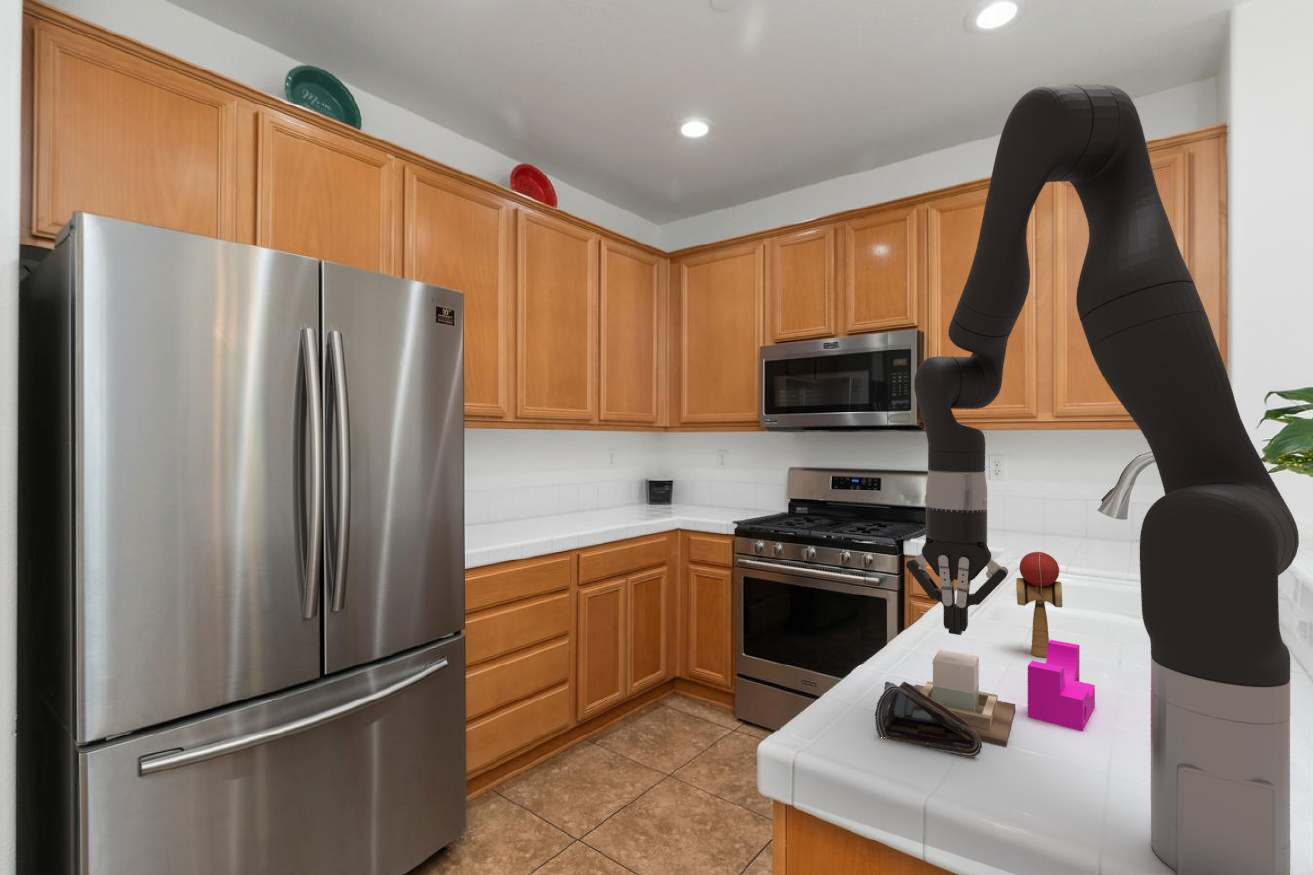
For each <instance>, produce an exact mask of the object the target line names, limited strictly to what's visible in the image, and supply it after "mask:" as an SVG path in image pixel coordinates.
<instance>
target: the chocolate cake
mask: <svg viewBox="0 0 1313 875" xmlns="http://www.w3.org/2000/svg"><path fill="white" fill-rule="evenodd" d="M883 687H884V691H883V692H882V694H881V695H880V698H879V699H878V702H877V703H876V704H877V705H876V709H875V713H874V720H875V721H874V722H875V730H876V733H877V735H878V737H879V739H880V738H881V737H882V739H885V738H884V737H888V738H887V739H891V738H892V739H891V740H896V741H899V742H904V743H907V744H911V745H914V746H915V745H916V746H920V747H923V748H926V749H930V750H935V751H937V752H942V753H946V754H950V755H954V756H957V757H964V758H974V757H978V756H979V755H980V754H981V750H982V749H983V742H982V741H981V739H980V737H979V735H978V734H977V733H976V732H975V731H974V730H972V729H971V728H970V727H969V725H968V724H967V722H965V721H964V720H963V719H962V718H960V717H959V716H957V715H956V714H955V713H953V712H951V711H950V710H949V709H947V708H946V707H945V705H944V704H943V703H942V702H940V701H938V702H935V701H934V700H933V699H931V698H930V697H928V696H926V695H924V694H923V693H922V692H921V691H920V690H919V688H918V687H917V686H915V685H913V684H911V683H908V682H906V681H902V682H901V684H900V685H899V686H898V685H896V684H895V683H893V682H891V681H885V682H884V686H883Z"/></svg>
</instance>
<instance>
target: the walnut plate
mask: <svg viewBox="0 0 1313 875" xmlns="http://www.w3.org/2000/svg"><path fill="white" fill-rule="evenodd" d="M914 686H917V687H918V688H919V690H920V691H921V692H922V693H923V694H924V695H926V696H928V697H930V698H931V699H933V681H926V684H924V685H920V684H915V685H914ZM998 697H999V696H998V694H996V693H990V692H985V691H980V690H979V708H978V711H977V713H975V712H970V711H965V710H960V709H956V708H951V707H946V706H945V707H946V708H947V709H949V710H950V711H951V712H953V713H955V714H956V715H957V716H959V717H960V718H962V719H963V720H964V721H965V722H967V724H968V725H969V727H970V728H971V729H972V730H974V731H975V732H976V733H977V734H978V735H979V737H980V739H981V741H982V743H983V742H984V743H987V744H992V745H996V746H1000V747H1004V748H1007V746H1008V743H1009V738H1010V735H1011V730H1012V726H1013V721H1014V719H1015V714H1016V703H1011V702H1007V701H1001V700H998V699H999V698H998Z"/></svg>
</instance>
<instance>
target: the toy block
mask: <svg viewBox="0 0 1313 875" xmlns="http://www.w3.org/2000/svg"><path fill="white" fill-rule="evenodd" d="M1045 660H1046V661H1045V662H1041V661H1035V660H1031V661H1030V662H1029V663H1028V665H1027V718H1029V719H1033V720H1037V721H1041V722H1044V723H1047V724H1053V725H1057V726H1059V727H1062V728H1063V727H1065V728H1068V729H1072V730H1076V731H1080V732H1084V730H1085V728H1086V725H1087V724H1088V722H1089V720H1090V717H1091V716H1092V715H1093V714H1092V713H1094V710H1095V708H1096V685H1095V684H1093V683H1088V682H1083V681H1080V644H1077V643H1070V642H1065V641H1060V640H1054V639H1049V642H1048V645H1047V657H1046V658H1045Z"/></svg>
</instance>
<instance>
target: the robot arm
mask: <svg viewBox="0 0 1313 875" xmlns="http://www.w3.org/2000/svg"><path fill="white" fill-rule="evenodd" d="M1148 149H1149V148H1148V147H1147V141H1146V137H1145V132H1144V129H1143V126H1142V122H1141V119H1140V115H1139V113H1138V109H1137V107H1136V105H1135V104H1134V102H1133V101H1132V98H1131V97H1130V96H1129V94H1127V93H1126V92H1125V91H1124V90H1123V89H1121V88H1119V87H1116V86H1113V85H1109V84H1103V83H1094V84H1093V83H1053V84H1052V83H1051V84H1050V83H1049V84H1044V85H1039V86H1037V87H1034V88H1032V89H1030V90H1029V91H1028V92H1026V93H1025V94H1024V95H1023V96H1021V97H1020V98H1019V99H1018V101H1017V102H1015V104H1014V106H1013V107H1012V109H1011V111H1010V113H1009V115H1008V117H1007V119H1006V121H1005V124H1004V126H1003V129H1002V132H1001V135H1000V138H999V141H998V146H997V150H996V154H995V158H994V163H993V168H992V172H991V176H990V182H989V187H988V190H987V194H986V200H985V203H984V204H985V205H984V210H983V216H982V220H981V224H980V225H981V226H980V230H979V234H978V240H977V244H976V250H975V253H974V258H973V260H972V263H971V268H970V271H969V273H968V277H967V279H966V282H965V284H964V287H963V289H962V292H961V294H960V297H959V299H958V302H957V305H956V308H955V310H954V313H953V315H952V318H951V320H950V322H949V323H950V324H949V327H948V331H947V332H948V338H949V340H950V341H951V343H952V344H953V345H954V346H956V347H957V348H959V349H961V350H963V351H967V352H969V353H971V355H970V356H931V357H928V358H926V359H925V360H923V361H922V362H921V364H920V365H919V366H918V368H917V370H916V372H915V376H914V384H913V385H914V386H913V387H914V393H915V397H916V400H917V401H916V402H917V403H918V408H919V411H920V413H921V419H922V421H923V426H924V429H925V435H926V438H927V451H928V452H927V478H926V483H925V484H926V485H925V496H924V503H925V542H924V545H923V546H922V548H921V553H920V554H918V555H916V556H915V557H912V558H911V559H909V560H907V561H906V564H905V566H906V568H907V569H908V570H909V572H910V574H911V575H912V576H913V577H914V579H915V580H916V582H918V584H919V585H920V587H921V588H922V589H923V591H924V592H925V593H926V595H927V596H928V597H929V599H931V600H936V601H937V602H939V603H941V604H942V607H943V627H944V629H947V630H948V634H951V635H955V636H962V633H963V632H966V630H967V628H968V626H969V607H970V606H978V605H980V604H981V603H982V602H983V601H985V599H987V597H988V596H989V595H991V593H992V592H993V591H994V590H995V589H996V588H997V587H998V586H999V585H1000V584H1002V582H1003V581H1004V580H1005V579H1006V578H1007V576H1008V574H1009V569H1008V568H1007V567H1006V566H1001V565H1000V564H999V563H998V562H996V561H994V560H993V559H992V552H991V551H990V549H989V547H988V484H987V480H986V479H987V477H986V438H985V434H984V432H983V431H982V430H980V429H979V428H975V427H972V426H967V425H965V424H963V425H962V424H961V423H959V422H958V421H957V419H956V418H955V416H954V413H953V411H952V409H953V410H957V409H958V410H978V409H983V408H985V407H987V406H989V405H990V404H992V402H994V401H995V400H996V398H997V397H998V395H999V394H1000V392H1001V389H1002V384H1003V375H1004V373H1003V372H1004V364H1005V359H1006V353H1007V352H1006V351H1007V345H1008V341H1009V337H1010V335H1011V333H1012V331H1013V328H1014V327H1015V325H1016V323H1017V320H1018V318H1019V316H1020V314H1021V312H1022V310H1023V307H1024V305H1025V304H1026V303H1025V302H1026V300H1027V297H1028V294H1029V289H1030V283H1031V281H1030V280H1031V269H1030V261H1029V260H1030V259H1029V253H1028V243H1027V236H1028V224H1029V220H1030V216H1031V214H1032V210H1033V209H1034V208H1033V207H1034V206H1035V203H1036V201H1037V199H1038V198H1039V195H1040V193H1041V191H1042V189H1043V188H1044V186H1045V185H1046V183H1054V182H1055V183H1057V182H1060V183H1061V182H1069V183H1070V184H1071V185H1072V186H1073V188H1074V189H1075V191H1076V194H1077V196H1078V198H1079V199H1080V202H1081V205H1082V209H1083V211H1084V214H1085V218H1086V220H1087V221H1086V222H1087V226H1088V244H1087V248H1086V253H1085V255H1084V259H1083V262H1082V267H1081V271H1080V273H1079V278H1078V282H1077V283H1078V284H1077V287H1076V295H1075V299H1076V301H1075V302H1076V310H1077V314H1078V318H1079V321H1080V323H1081V326H1082V329H1083V333H1084V335H1085V339H1086V341H1087V344H1088V346H1089V350H1090V353H1091V355H1092V357H1093V360H1094V361H1095V364H1096V365H1097V367H1098V370H1099V372H1100V374H1101V375H1102V377H1103V379H1104V381H1105V382H1106V384H1107V385H1108V386H1109V388H1110V390H1111V391H1112V393H1113V394H1114V395H1115V397H1116V398H1117V400H1118V401H1119V402H1120V404H1121V405H1122V406H1123V407H1124V409H1125V411H1126V412H1127V413H1128V414H1129V416H1130V417H1131V418H1132V420H1133V422H1134V423H1135V425H1136V426H1137V427H1138V428H1139V430H1140V431H1141V433H1142V434H1143V436H1144V438H1145V439H1146V442H1147V444H1148V446H1149V448H1150V450H1151V453H1152V455H1153V458H1154V460H1155V464H1156V467H1157V470H1158V473H1159V477H1160V480H1161V484H1162V487H1163V491H1164V495H1163V496H1161V497H1160V498H1158V499H1157V500H1156V501H1155V502H1153V504H1152V505H1151V506H1150V507H1149V509H1148V511H1147V512H1146V514H1145V516H1144V518H1143V520H1142V523H1141V529H1140V536H1139V573H1140V574H1139V579H1140V581H1139V582H1140V596H1141V614H1142V615H1141V617H1142V621H1143V625H1144V628H1145V631H1146V633H1147V634H1148V637H1149V642H1150V844H1151V849H1152V850H1153V851H1154V853H1155V855H1157V857H1159V858H1160V860H1161V861H1163V862H1164V863H1165V864H1166V865H1167V866H1169V867H1170V868H1171V869H1173V870H1174V871H1175V873H1176V874H1177V875H1291V653H1290V650H1289V648H1288V646H1287V645H1286V644H1285V643H1284V641H1283V637H1282V635H1281V629H1280V615H1279V614H1280V613H1279V612H1280V610H1279V609H1280V608H1279V606H1280V605H1279V576H1280V575H1281V574H1283V573H1284V572H1285V571H1286V570H1287V569H1289V567H1290V566H1291V565H1292V564H1293V562H1294V560H1295V558H1296V556H1297V554H1298V551H1299V550H1298V549H1299V544H1300V541H1299V529H1298V526H1297V523H1296V520H1295V518H1294V516H1293V514H1292V512H1291V510H1290V508H1289V507H1288V505H1287V502H1286V501H1285V499H1284V497H1283V496H1282V495H1281V493H1280V490H1279V489H1278V488H1277V486H1276V484H1275V482H1274V481H1273V479H1272V476H1271V475H1270V473H1269V472H1268V470H1267V468H1266V466H1265V464H1264V462H1263V461H1262V459H1261V457H1260V455H1259V453H1258V451H1257V450H1256V447H1255V444H1253V442H1252V440H1251V437H1250V436H1249V433H1248V432H1247V430H1246V426H1245V425H1244V422H1243V419H1242V418H1241V415H1240V412H1239V409H1238V405H1237V402H1236V399H1235V396H1234V392H1233V389H1232V385H1231V382H1230V378H1229V375H1228V373H1227V369H1226V367H1225V364H1224V361H1223V358H1222V355H1221V351H1220V348H1219V346H1218V344H1217V341H1216V337H1215V334H1214V333H1213V328H1212V325H1211V323H1210V319H1209V318H1208V315H1207V312H1206V310H1205V306H1204V305H1203V302H1202V300H1201V297H1200V295H1199V292H1198V289H1197V287H1196V285H1195V282H1194V279H1193V278H1192V274H1191V273H1190V271H1189V269H1188V267H1187V265H1186V263H1185V260H1184V258H1183V255H1182V253H1181V250H1180V247H1179V245H1178V242H1177V239H1176V236H1175V234H1174V230H1173V228H1172V226H1171V222H1170V220H1169V218H1168V215H1167V213H1166V210H1165V207H1164V205H1163V202H1162V199H1161V196H1160V193H1159V189H1158V186H1157V182H1156V178H1155V175H1154V171H1153V167H1152V163H1151V159H1150V155H1149V150H1148ZM927 564H928V565H929V566H930V568H931V569H932V571H933V572H934V574H935V575H936V576H937V577H938V578H939V581H940V582H939V583H940V587H939V586H938V585H937V583H936V582H935V581H934V580H933V578H932V576H931V575H930V574H929V573H928V572H927V569H928V568H927V567H928V565H927ZM986 567H987V571H986V572H985V576H986V577H987V579H986V581H985V582H984V583H983V584H982V585H981V586H980V587H979V588H978V589H976V591H975V592H974V593H970V589H971V588H970V587H971V581H973V580H975V579H976V577H977V576H978V575H979V574H980V573H981V572H982V571H983V570H984V569H985V568H986ZM955 580H956V581H957V582H956V591H955ZM940 588H941V589H940ZM955 594H956V595H955Z"/></svg>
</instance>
